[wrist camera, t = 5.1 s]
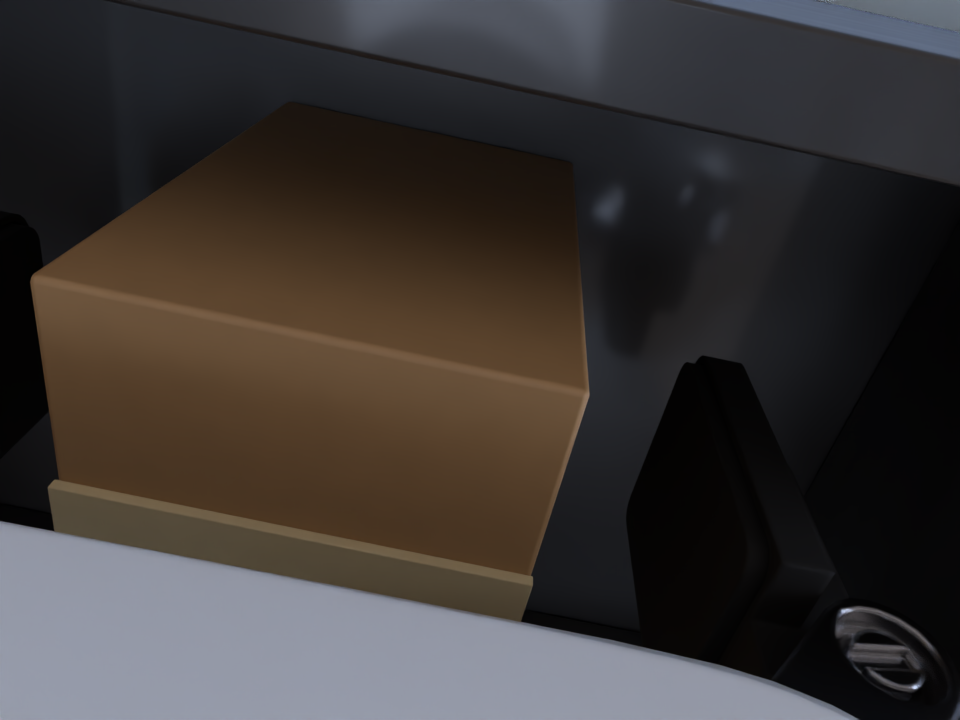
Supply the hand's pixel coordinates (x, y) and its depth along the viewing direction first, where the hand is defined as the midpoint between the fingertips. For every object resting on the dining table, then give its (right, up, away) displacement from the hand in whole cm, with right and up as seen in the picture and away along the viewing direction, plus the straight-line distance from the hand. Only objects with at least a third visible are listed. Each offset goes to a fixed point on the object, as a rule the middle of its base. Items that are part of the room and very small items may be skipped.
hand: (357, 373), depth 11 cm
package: (0, +1, +2) cm, 3 cm away
